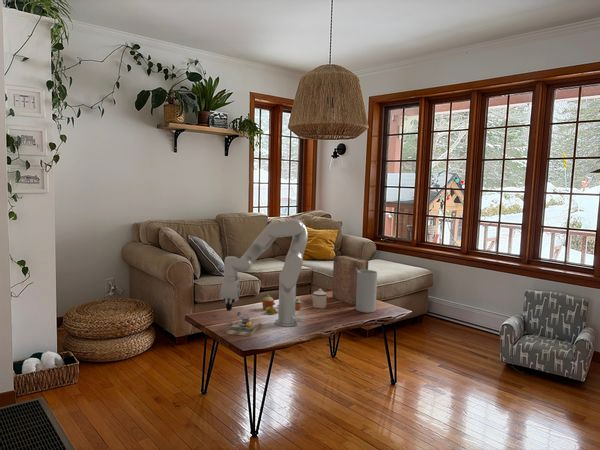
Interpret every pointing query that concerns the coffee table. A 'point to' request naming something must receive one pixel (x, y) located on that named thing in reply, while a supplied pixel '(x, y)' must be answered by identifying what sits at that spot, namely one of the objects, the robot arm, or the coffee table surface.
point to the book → (346, 277)
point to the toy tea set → (269, 303)
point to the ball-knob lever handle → (244, 320)
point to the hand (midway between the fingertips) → (228, 310)
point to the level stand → (243, 329)
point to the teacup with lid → (319, 299)
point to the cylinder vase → (366, 291)
